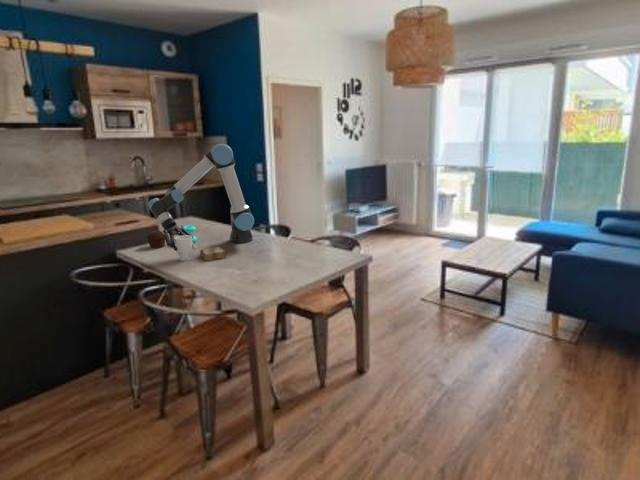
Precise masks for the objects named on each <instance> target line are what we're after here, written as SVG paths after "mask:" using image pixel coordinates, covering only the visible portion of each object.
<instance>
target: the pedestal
mask: <svg viewBox="0 0 640 480" xmlns="http://www.w3.org/2000/svg"><path fill="white" fill-rule="evenodd" d="M199 250H200V249H199ZM199 253H200V257H201V258H202V259H203V260H204V261H205V262H208V261H209V262H210V261H216V260H222V259H226V258H227V252H226V251H225V250H224V249H223V248H222V247H220V246H216V247H215V246H214V247H209V248H208V247H207V248H201V250H200V251H199Z"/></svg>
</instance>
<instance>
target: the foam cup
mask: <svg viewBox="0 0 640 480" xmlns="http://www.w3.org/2000/svg"><path fill="white" fill-rule="evenodd" d="M192 236H193V235H192ZM192 236H189V235H183V236H180V235H177V236H174V244H177V246H178V247H179V248H180V250H181V251H182V254H181V255H180V256H179V254H178V253H177V255H178V258H179V261H181V262H187V261H190V260H191V259H192V253H193V251H192V250H193V249H192Z"/></svg>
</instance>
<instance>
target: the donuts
mask: <svg viewBox="0 0 640 480" xmlns="http://www.w3.org/2000/svg"><path fill="white" fill-rule="evenodd" d="M183 227H184V228H185V229H186V230H187V231H188V232H189V233H190V234H191V233H194V232H196V230H197V228H196V227H195V226H194V225H185V226H184V225H183ZM192 236H193V239H192V240H193V242H194V243H196V242H197V240H198V237H196V235H192Z"/></svg>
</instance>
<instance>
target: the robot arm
mask: <svg viewBox="0 0 640 480" xmlns="http://www.w3.org/2000/svg"><path fill="white" fill-rule="evenodd" d="M234 158H235V157H234V152H233V150H232V148H231V147H230V146H229V145H228V144H225V143H222V142H221V143H220V142H219V143H215V144H213V145H212V146H211V147H210V148H209V150H208V151H207V152H206V153H205V154H204V155H203V158H202V159H201V160H200V161H199V162H198V163H197V164H196V165H194V166H193V167H192V168H191V169H190V170H189V171H188V172H187V173H185V174H184V176H182V177H181V178H180V179H179V180H177V182H176V183H175V184H174V185H173V186H172V187H170V188H169V189H167V190H166V192H165V194H164V196H163V197H162V198H158V197H155V198H152V199H151V200H149V201H148V202H147V207H148V209H149V210H150V212H151V213H152V214H153V216H154V217H155V218H156V220H157V221H158V223H159V224H160V225H161V227H162V228H163V230H162V234H163V235H164V238H165V244H166V245H167V247H170V248H172V249H173V250H174V251H176V253H177V255H178V254H179V255H178V257H179V256H180V255H181V254H182V251H181V250H180V248H179V247H178V246H177V244H176V243H175V236H176V235H177V236H183V235H189V236H192V239H193V236H194V235H193V234H191V233H189V232H188V231H187V230H186V229H185V228H184V225H181V226H178V225H177V222H176V221H175V219H174V218H173V216H172V215H171V213H170V212H169V210H171V208H173V207H175V206H176V205H178V204H179V203H181V202H182V201H183V200H184V199H185V197H184V194H185V193H186V192H187V191H188V190H190V189H191V188H192V187H193V186H194V185H195V184H196V183H197V182H198V181H199V180H200V179H201V178H203V177H204V176H206V174H207V173H208V172H210V170H212V168H215V169H216V170H218V171H219V172H220V175H221V178H222V182H223V184H224V188H225V190H226V191H225V192H226V194H227V197H228V199H229V203H230V205H231V207H230V225H231V230H230V236H229V242H230V243H233V244H241V243H242V244H243V243H248V242H252V241H253V240H254V237H253V234H252V231H251V229H252V227H253V226H254V224H255V217H254V216H253V214H252V212H251V209H250V206H249V205H248V204H246V201H245V198H244V195H243V191H242V189H241V186H240V183H239V179H238V177H237V176H238V175H237V173H236V171H235V165H236V161H235V159H234ZM195 243H196V242H193V240H192V250H193V251H194V252H195V251H196V250H197V249H198V247H197V246H196V244H195Z"/></svg>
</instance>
